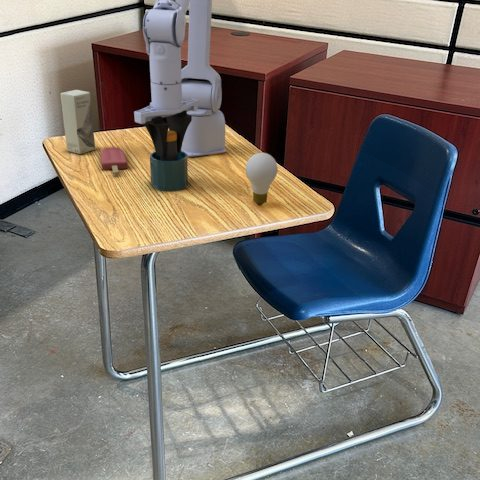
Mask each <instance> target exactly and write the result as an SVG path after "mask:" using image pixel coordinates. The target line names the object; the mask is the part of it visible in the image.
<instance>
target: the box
mask: <svg viewBox="0 0 480 480" xmlns="http://www.w3.org/2000/svg"><path fill="white" fill-rule="evenodd" d="M91 98H92V97H91V92H90V91H87V90H86V91H85V90H81V89H73V90H68V91H65V92H60V102H61V110H62V112H61V113H62V119H63V128H64V137H65V146H66V152H67V151H68V152H69V153H74V154H78V155H82V154H86V153H89V152H92V151H94V150H96V142H95V141H96V140H95V132H94V121H93V111H92V100H91Z"/></svg>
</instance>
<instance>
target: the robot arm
mask: <svg viewBox="0 0 480 480" xmlns="http://www.w3.org/2000/svg"><path fill="white" fill-rule="evenodd" d="M188 8H189V11H188ZM212 8H213V0H155V2H154V4H153V7H152V8H151V9H149V10H148V11H146V12H145V13H144V15H143V19H142V20H143V21H142V34H143V40H144V42H145V50H146V54H147V55H148V56H149V73H150V74H149V76H150V77H149V78H150V93H151V102H149V105H147V106H146V107H143V108H141V109H138V110H135V111H133V115H134V122H135V123H136V124H140V125H143V126H144V127H145V129H146V131H147V133H148V134H149V136H150V138H151V141H152V145H153V147H154V152H155V151H156V155H158V156H161V157H166V151H167V145H166V141H167V133H168V130H169V131H175V132H176V133H177V152H178V153H179V152H181V151H182V152H185V153H186V154H187V157H189V158H193V157H202V156H209V155H217V154H225V153H227V150H226V120H225V115H224V113H223V112H222V111H221V110H220V108H221V105H222V98H223V90H222V78H221V76H220V74H219V73H218V72H217V71H216V70H215V69H214V68H213V67H212V66H211V64H210V56H211V31H212V12H213V11H212ZM187 11H188V39H187V40H188V41H187V47H188V48H187V65H185V66H184V67H182V45H183V43H184V42H185V36H186V24H187V18H186V14H187ZM190 79H193V80H190ZM194 79H196V80H194ZM202 80H203V81H202ZM204 80H206V81H204ZM163 118H166V122H165V120H164V119H163Z"/></svg>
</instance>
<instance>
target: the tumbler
mask: <svg viewBox="0 0 480 480" xmlns="http://www.w3.org/2000/svg"><path fill="white" fill-rule="evenodd" d="M188 163H189V162H188V156H187V154H186V153H185V152H182V151H181V152H179V153H178V152H177V160H176V161H161V160H160V156H158V155H156V151H155V150H154V151H152V152H151V153H150V154H149V167H150V169H149V170H150V183H151V184H150V185H151V187H152V188H153V189H156V190H158V191H163V192H174V191H180V190H183V189H186V188H188V185H189V174H188V173H189V171H188V169H189V167H188V165H189V164H188Z"/></svg>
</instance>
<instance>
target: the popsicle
mask: <svg viewBox="0 0 480 480" xmlns="http://www.w3.org/2000/svg"><path fill="white" fill-rule="evenodd" d="M100 165H101V170H103V171H109V170H112V174H115V175H116V174H120V172H119V170H126V169H128V162H127V158H126V155H125V152H124V150H123V149H122V148H120V147H117V146H116V147H115V146H110V147H105V148H102V149H101V150H100Z"/></svg>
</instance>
